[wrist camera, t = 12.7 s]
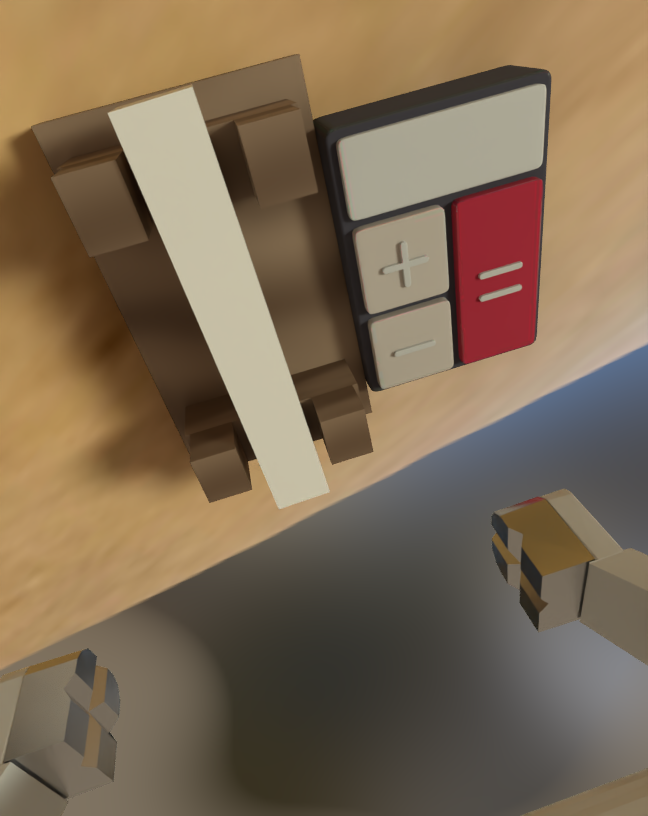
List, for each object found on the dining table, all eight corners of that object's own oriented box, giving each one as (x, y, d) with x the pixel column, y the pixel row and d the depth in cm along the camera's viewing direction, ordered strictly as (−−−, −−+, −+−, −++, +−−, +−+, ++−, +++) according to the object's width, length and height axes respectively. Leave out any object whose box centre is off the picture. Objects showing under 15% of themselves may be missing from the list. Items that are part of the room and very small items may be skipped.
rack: (39, 123, 24) (-10, 142, 18) (293, 54, 24) (325, 51, 19) (195, 452, 35) (196, 528, 29) (365, 400, 36) (399, 464, 30)
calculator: (375, 401, 32) (326, 133, 23) (356, 365, 35) (307, 119, 26) (544, 349, 32) (563, 67, 23) (509, 319, 36) (514, 62, 27)
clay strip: (117, 106, 20) (107, 113, 18) (191, 84, 20) (192, 86, 18) (272, 474, 32) (279, 509, 29) (319, 458, 32) (329, 491, 29)
